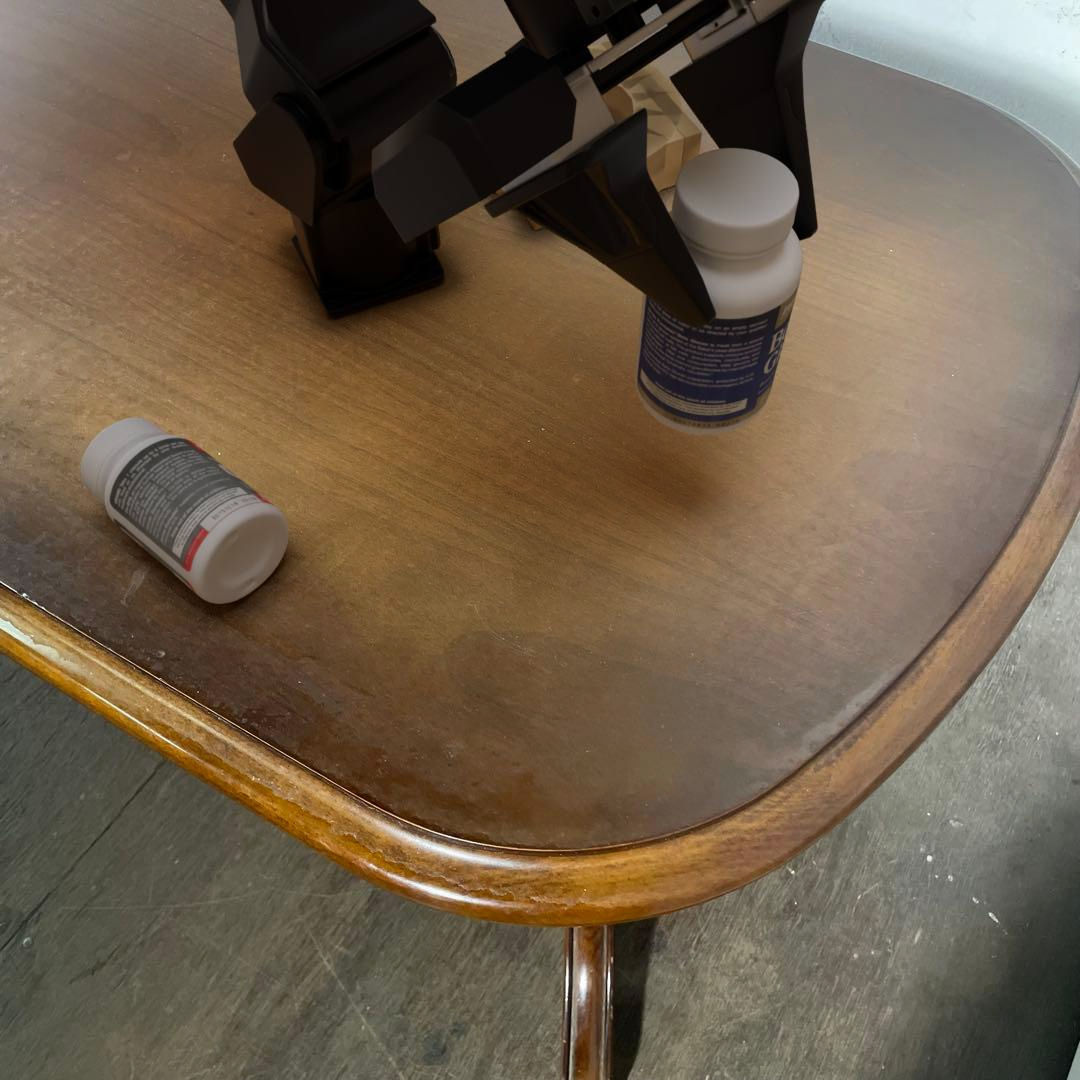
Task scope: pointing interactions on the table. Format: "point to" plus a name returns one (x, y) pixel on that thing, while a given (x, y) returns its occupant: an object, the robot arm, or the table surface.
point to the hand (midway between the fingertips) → (756, 279)
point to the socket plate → (653, 121)
